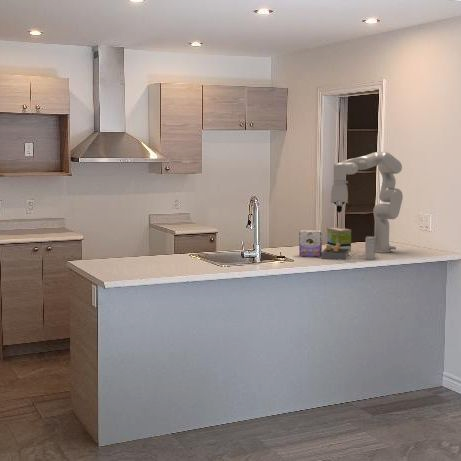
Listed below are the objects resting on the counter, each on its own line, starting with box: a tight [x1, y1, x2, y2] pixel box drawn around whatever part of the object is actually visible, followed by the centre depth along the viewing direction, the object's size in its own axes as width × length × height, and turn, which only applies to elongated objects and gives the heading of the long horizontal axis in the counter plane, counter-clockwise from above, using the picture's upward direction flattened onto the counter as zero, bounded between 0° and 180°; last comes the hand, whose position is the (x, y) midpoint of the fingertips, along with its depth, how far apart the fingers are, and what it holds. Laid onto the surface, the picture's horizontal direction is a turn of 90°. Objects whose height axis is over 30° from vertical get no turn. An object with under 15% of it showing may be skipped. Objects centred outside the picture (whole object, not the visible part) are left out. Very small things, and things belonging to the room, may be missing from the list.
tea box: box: [326, 226, 352, 252], centre depth 488 cm, size 15×10×15 cm, turn 25°
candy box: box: [298, 229, 323, 258], centre depth 462 cm, size 14×6×16 cm, turn 74°
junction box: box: [364, 235, 376, 261], centre depth 454 cm, size 5×12×13 cm, turn 165°
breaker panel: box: [320, 247, 350, 261], centre depth 460 cm, size 15×20×4 cm
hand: (339, 212), depth 456 cm, fingers closed
